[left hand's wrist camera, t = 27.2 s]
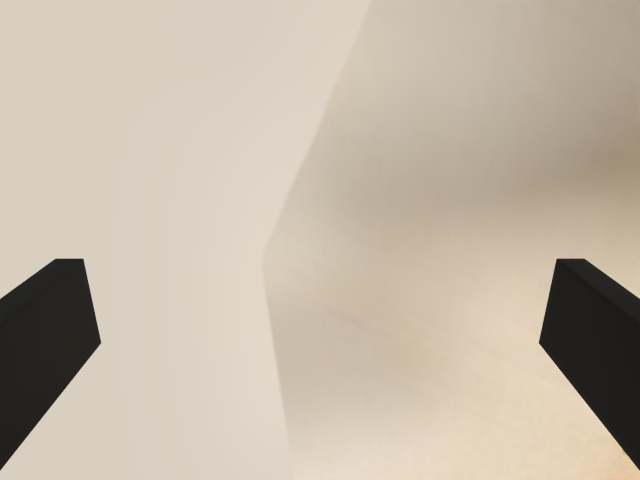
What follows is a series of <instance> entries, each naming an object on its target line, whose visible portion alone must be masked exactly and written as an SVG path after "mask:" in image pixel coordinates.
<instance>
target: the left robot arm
mask: <svg viewBox="0 0 640 480" xmlns="http://www.w3.org/2000/svg"><path fill="white" fill-rule="evenodd" d="M100 344H101V340H100V335H99V331H98V326H97V321H96V316H95V312H94V307H93V302H92V298H91V293H90V288H89V284H88V279H87V274H86V269H85V265H84V260H83V259H55V260H53V261H52V262H50V263H49V264H48V265H46V266H45V267H44V268H42V269H41V270H39V271H38V272H37V273H35V274H34V275H33V276H31V277H30V278H28V279H27V280H26V281H24V282H23V283H22V284H20V285H19V286H17V287H16V288H15V289H13V290H12V291H11V292H9V293H8V294H7V295H5V296H4V297H2V298H1V299H0V470H1V469H2V468H3V466H4V465H5V464H6V463H7V461H8V460H9V459H10V457H11V456H12V455H13V454H14V452H15V451H16V450H17V449H18V447H19V446H20V445H21V444H22V442H23V441H24V440H25V438H26V437H27V436H28V435H29V433H30V432H31V431H32V430H33V428H34V427H35V426H36V425H37V423H38V422H39V421H40V420H41V418H42V417H43V416H44V414H45V413H46V412H47V411H48V409H49V408H50V407H51V406H52V404H53V403H54V402H55V401H56V399H57V398H58V397H59V396H60V394H61V393H62V392H63V390H64V389H65V388H66V387H67V385H68V384H69V383H70V382H71V380H72V379H73V378H74V377H75V375H76V374H77V373H78V372H79V370H80V369H81V368H82V366H83V365H84V364H85V363H86V361H87V360H88V359H89V358H90V356H91V355H92V354H93V353H94V351H95V350H96V349H97V348H98V346H99V345H100ZM539 344H540V345H541V346H542V348H543V349H544V350H545V351H546V353H547V354H548V355H549V356H550V358H551V359H552V360H553V361H554V363H555V364H556V365H557V366H558V368H559V369H560V370H561V372H562V373H563V374H564V375H565V377H566V378H567V379H568V380H569V382H570V383H571V384H572V385H573V387H574V388H575V389H576V391H577V392H578V393H579V394H580V396H581V397H582V398H583V399H584V401H585V402H586V403H587V404H588V406H589V407H590V408H591V409H592V411H593V412H594V413H595V415H596V416H597V417H598V418H599V420H600V421H601V422H602V423H603V425H604V426H605V427H606V428H607V430H608V431H609V432H610V433H611V435H612V436H613V437H614V439H615V440H616V441H617V442H618V444H619V445H620V446H621V447H622V449H623V450H624V451H625V452H626V454H627V455H628V456H629V457H630V459H631V460H632V461H633V463H634V464H635V465H636V466H637V468H638V469H639V470H640V299H639V298H638V297H636V296H635V295H634V294H632V293H631V292H629V291H628V290H627V289H625V288H624V287H623V286H621V285H620V284H618V283H617V282H616V281H614V280H613V279H612V278H610V277H609V276H607V275H606V274H605V273H603V272H602V271H601V270H599V269H598V268H596V267H595V266H594V265H592V264H591V263H590V262H588V261H587V260H585V259H557V260H556V265H555V269H554V274H553V279H552V284H551V288H550V293H549V298H548V302H547V307H546V312H545V316H544V321H543V326H542V331H541V335H540V340H539Z"/></svg>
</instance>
